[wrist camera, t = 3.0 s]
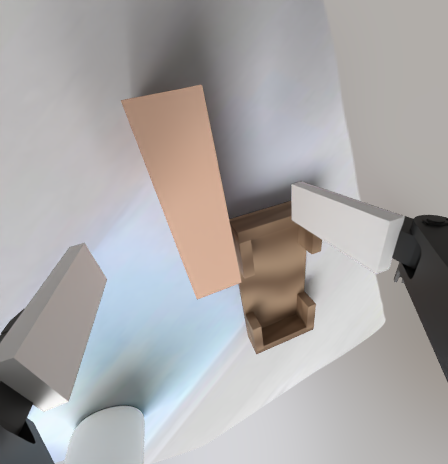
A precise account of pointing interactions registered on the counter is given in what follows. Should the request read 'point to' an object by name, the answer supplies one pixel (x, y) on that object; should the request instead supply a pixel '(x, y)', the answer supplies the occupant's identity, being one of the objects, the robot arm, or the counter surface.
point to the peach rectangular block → (187, 182)
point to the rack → (273, 274)
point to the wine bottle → (108, 438)
